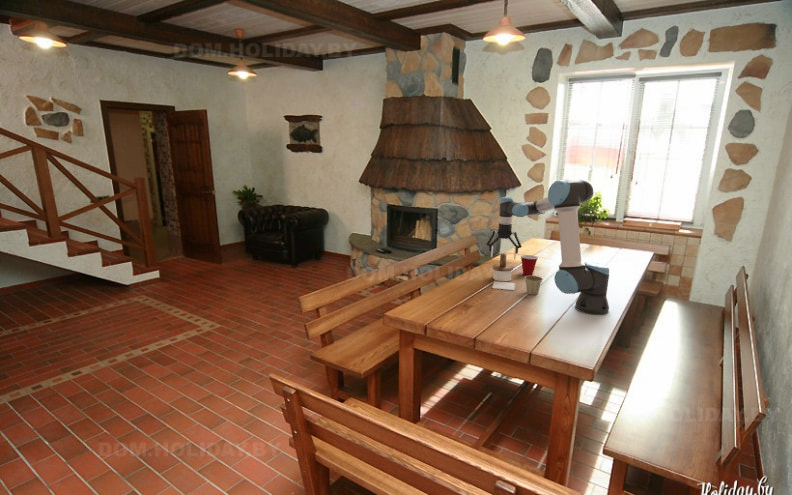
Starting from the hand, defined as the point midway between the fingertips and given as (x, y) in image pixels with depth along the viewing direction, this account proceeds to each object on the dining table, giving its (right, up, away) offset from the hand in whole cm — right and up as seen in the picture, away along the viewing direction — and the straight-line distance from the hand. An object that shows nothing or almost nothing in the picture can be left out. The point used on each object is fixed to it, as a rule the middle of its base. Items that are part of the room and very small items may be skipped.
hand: (503, 257), depth 252 cm
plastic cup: (+19, -11, +11) cm, 25 cm away
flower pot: (+11, -19, -21) cm, 31 cm away
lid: (0, -7, +1) cm, 7 cm away
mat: (-2, -16, -11) cm, 20 cm away
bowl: (0, -13, +3) cm, 13 cm away
